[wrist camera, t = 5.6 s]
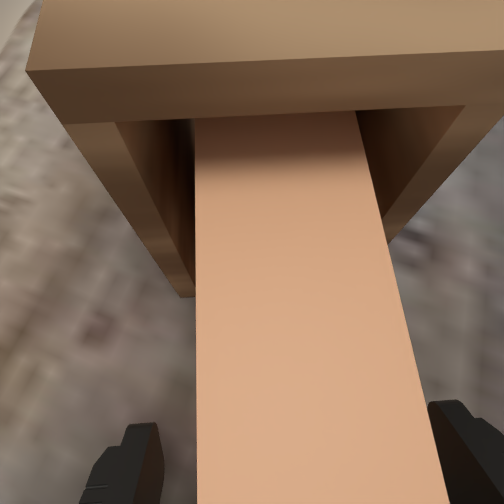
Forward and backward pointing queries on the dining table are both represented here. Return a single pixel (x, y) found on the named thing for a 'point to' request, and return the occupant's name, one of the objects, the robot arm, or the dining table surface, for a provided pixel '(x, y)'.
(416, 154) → the tunnel
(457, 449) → the robot arm
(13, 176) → the dining table surface
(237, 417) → the wooden drawer block
